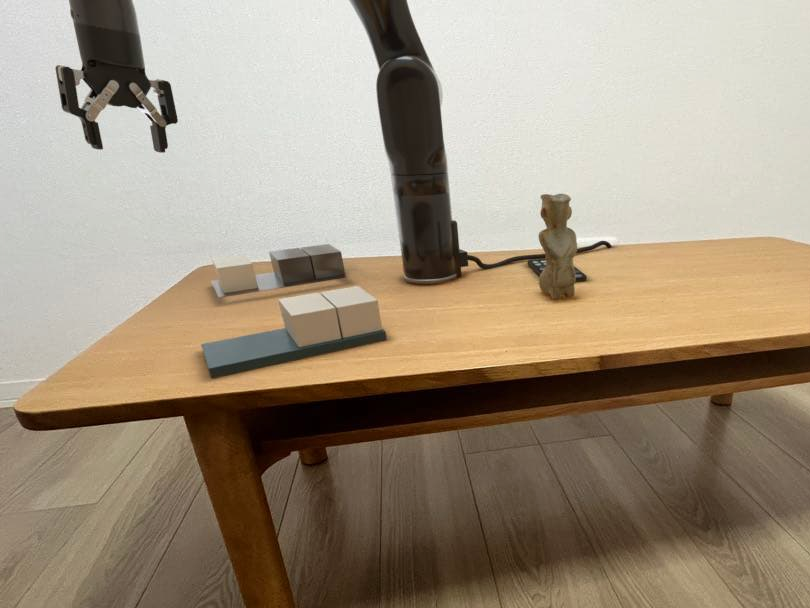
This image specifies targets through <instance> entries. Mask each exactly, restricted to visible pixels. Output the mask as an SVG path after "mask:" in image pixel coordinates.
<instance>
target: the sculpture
mask: <svg viewBox="0 0 810 608" xmlns="http://www.w3.org/2000/svg"><path fill="white" fill-rule="evenodd" d="M540 199H541V208H540V217H541V219H542V220H543V222H544V224H545V227H546V228H545V229H542V230H540V231H539V233H538V241H539V244H540V246H541V248H542V250H543V252H544V254H545V256H546V267H545V268H544V270H543V271H542V273H541V275H540V276H539V278H538V286H539V289H540V291H542V292H543V293H545V294H550V298H551V299H552V300H559V299H561V298H562V297H563V296H564V297H565V298H572V297H574V296H575V284H576V282H577V281H576V275H575V269H574V267H575V265H574V257H575V255H577V254H576V252H577V249H578V242H577V234H576V232H575V231H574V230H573V228H571V227H568V226H567V225H568V221H569V220H570V219H571V217H572V215H573V210H572V207H571V205H570V202H571V200H572V197H570V196H569V195H568V194H566V193H557V194H554V195H553V194H549V193H544V194H541V195H540Z"/></svg>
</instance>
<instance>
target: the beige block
mask: <svg viewBox="0 0 810 608" xmlns="http://www.w3.org/2000/svg"><path fill="white" fill-rule="evenodd" d="M211 262H212V265H213V268H214V272H215V274H216V278H217V280H218V282H219V284H220V286H221V288H222V290H223V292H224V293H230V292H236V291H243V290H249V289H256V288H258V284H257V280H256V276H255V275H256V273H255V269H254V266H253V263H252V261H251V260H250V259H249V258H248V257H247V255H246V254H238V255H237V254H236V255H231V256H230V255H229V256H221V257H215V258H214V257H213V258H211Z"/></svg>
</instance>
